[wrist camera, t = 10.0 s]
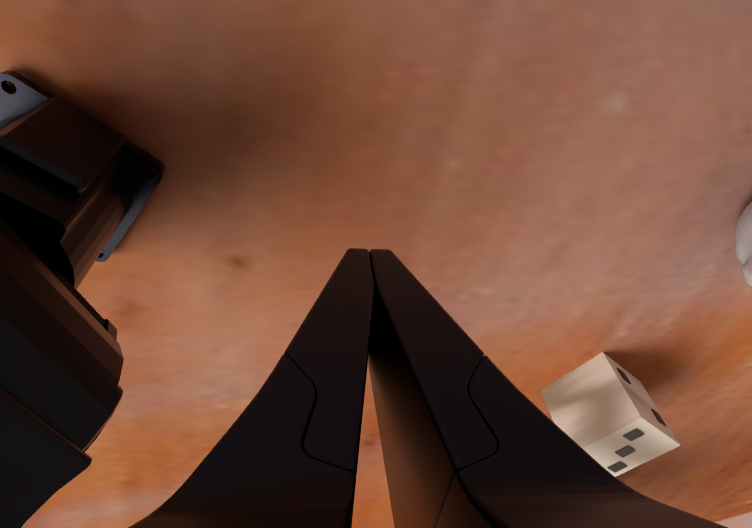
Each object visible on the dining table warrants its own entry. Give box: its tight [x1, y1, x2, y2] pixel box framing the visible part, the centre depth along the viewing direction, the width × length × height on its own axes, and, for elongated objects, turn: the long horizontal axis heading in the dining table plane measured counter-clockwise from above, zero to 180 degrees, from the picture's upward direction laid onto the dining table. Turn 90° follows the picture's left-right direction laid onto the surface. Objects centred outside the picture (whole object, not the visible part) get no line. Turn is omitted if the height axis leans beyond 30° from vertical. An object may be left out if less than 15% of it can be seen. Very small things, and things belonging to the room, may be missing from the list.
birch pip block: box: [540, 352, 681, 477], centre depth 31 cm, size 5×5×5 cm
